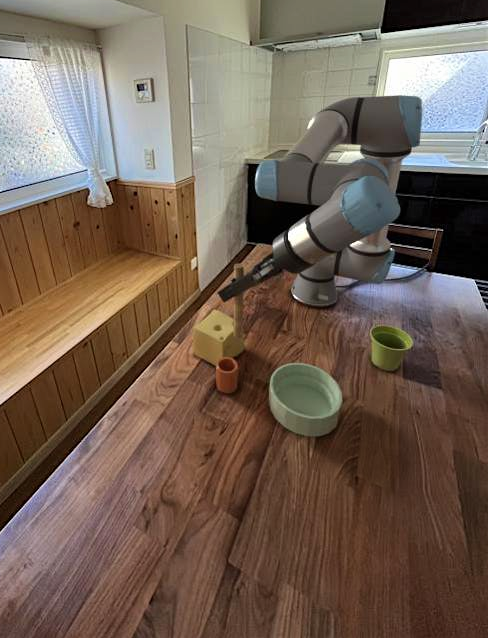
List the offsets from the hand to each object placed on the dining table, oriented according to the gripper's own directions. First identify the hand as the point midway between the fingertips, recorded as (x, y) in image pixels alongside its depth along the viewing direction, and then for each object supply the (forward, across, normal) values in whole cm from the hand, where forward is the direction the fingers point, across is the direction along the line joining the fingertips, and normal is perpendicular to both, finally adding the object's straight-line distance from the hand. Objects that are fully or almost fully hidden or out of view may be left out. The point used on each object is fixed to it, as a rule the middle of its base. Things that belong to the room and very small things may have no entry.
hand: (225, 294), depth 75 cm
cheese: (+24, +7, -13) cm, 28 cm away
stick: (+4, 0, -9) cm, 10 cm away
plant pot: (-2, +32, -39) cm, 50 cm away
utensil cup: (+17, -1, -19) cm, 26 cm away
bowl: (+6, +5, -31) cm, 32 cm away
